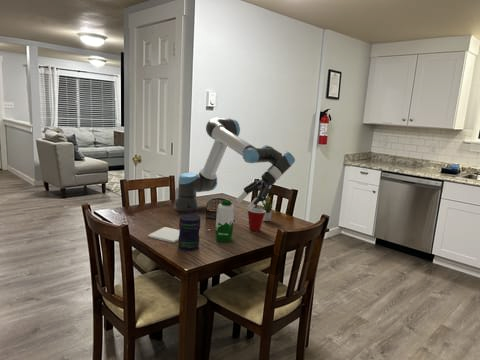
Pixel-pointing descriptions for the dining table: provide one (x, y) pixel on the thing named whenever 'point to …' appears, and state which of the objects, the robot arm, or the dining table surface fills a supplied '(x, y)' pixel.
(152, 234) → the plate
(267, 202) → the house plant
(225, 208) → the soya milk
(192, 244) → the storage jar
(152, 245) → the dining table surface
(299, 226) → the dining table surface
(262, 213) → the plastic cup
